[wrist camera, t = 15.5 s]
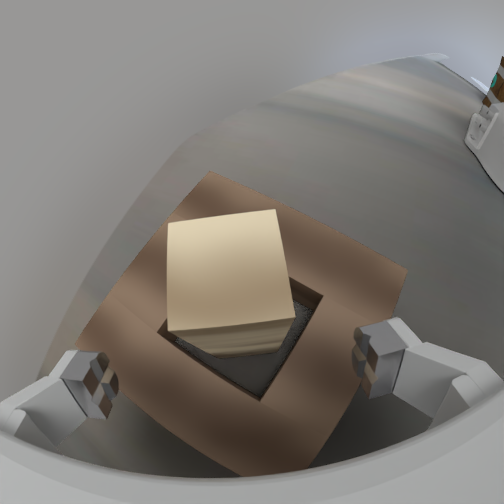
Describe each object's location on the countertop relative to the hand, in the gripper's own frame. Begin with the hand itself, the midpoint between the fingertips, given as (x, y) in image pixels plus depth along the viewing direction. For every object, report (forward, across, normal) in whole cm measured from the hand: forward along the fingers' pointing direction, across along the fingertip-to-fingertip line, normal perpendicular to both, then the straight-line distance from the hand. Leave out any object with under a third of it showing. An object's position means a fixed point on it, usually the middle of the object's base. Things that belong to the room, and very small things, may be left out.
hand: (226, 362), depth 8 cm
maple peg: (+12, 0, +6) cm, 13 cm away
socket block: (+12, 0, +6) cm, 13 cm away
